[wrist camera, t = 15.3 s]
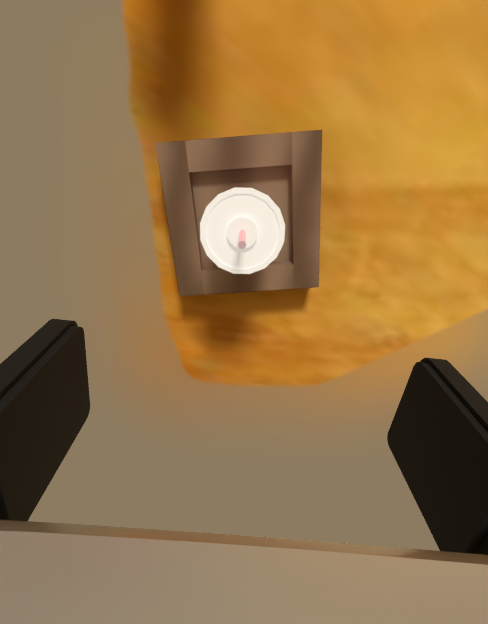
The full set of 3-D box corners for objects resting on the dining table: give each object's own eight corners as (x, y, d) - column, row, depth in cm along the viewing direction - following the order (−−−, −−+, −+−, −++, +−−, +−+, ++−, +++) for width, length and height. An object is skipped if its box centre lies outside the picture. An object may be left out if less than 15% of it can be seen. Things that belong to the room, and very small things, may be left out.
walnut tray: (312, 132, 33) (322, 129, 29) (311, 273, 39) (318, 287, 35) (165, 143, 33) (155, 142, 30) (185, 282, 39) (179, 296, 35)
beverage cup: (270, 179, 32) (288, 178, 19) (279, 245, 34) (301, 286, 21) (204, 191, 32) (177, 199, 19) (217, 256, 35) (201, 303, 21)
